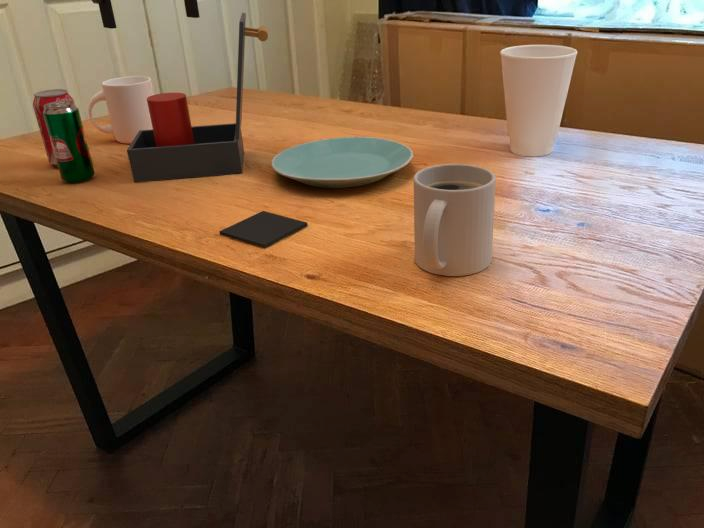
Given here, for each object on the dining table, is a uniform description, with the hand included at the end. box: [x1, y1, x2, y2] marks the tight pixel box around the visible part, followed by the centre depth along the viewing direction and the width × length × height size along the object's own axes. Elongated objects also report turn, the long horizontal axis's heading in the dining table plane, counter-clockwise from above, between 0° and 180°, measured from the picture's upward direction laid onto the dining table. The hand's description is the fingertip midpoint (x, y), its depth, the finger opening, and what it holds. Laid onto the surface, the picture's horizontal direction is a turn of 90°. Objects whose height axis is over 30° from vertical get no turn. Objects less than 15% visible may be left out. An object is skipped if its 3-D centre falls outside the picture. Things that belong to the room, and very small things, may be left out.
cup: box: [499, 44, 578, 158], centre depth 107 cm, size 12×12×16 cm
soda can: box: [43, 101, 96, 184], centre depth 103 cm, size 5×5×12 cm
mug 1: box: [87, 75, 155, 145], centre depth 123 cm, size 9×12×11 cm
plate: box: [270, 136, 414, 189], centre depth 104 cm, size 22×22×3 cm
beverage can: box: [32, 88, 76, 167], centre depth 111 cm, size 6×6×12 cm
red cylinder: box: [147, 92, 195, 147], centre depth 107 cm, size 6×6×11 cm
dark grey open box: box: [126, 122, 245, 183], centre depth 108 cm, size 17×12×5 cm
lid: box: [235, 12, 269, 139], centre depth 104 cm, size 17×12×4 cm
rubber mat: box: [219, 210, 308, 249], centre depth 85 cm, size 8×8×1 cm
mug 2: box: [413, 163, 497, 277], centre depth 73 cm, size 11×10×10 cm
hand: (153, 22), depth 100 cm, fingers open, 13 cm apart
